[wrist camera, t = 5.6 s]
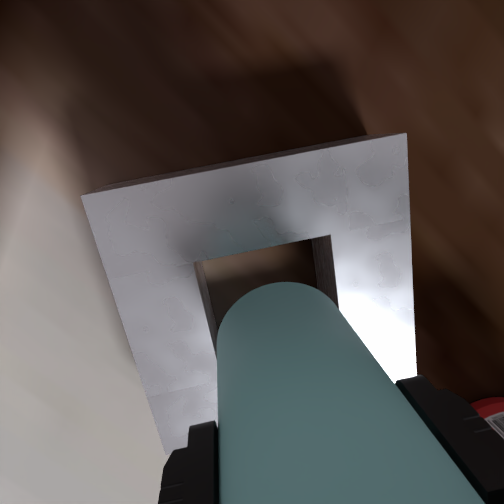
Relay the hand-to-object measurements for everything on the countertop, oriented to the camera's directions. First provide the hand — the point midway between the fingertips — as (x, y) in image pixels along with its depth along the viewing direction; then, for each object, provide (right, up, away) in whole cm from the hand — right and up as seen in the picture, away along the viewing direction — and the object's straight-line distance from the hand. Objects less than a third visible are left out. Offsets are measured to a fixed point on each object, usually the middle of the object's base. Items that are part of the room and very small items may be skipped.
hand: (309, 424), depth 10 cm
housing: (-1, +3, +10) cm, 11 cm away
